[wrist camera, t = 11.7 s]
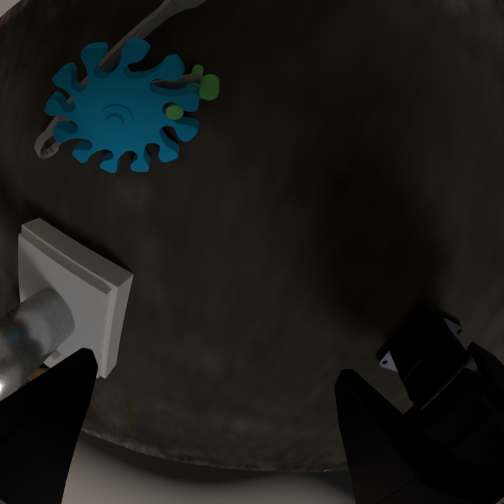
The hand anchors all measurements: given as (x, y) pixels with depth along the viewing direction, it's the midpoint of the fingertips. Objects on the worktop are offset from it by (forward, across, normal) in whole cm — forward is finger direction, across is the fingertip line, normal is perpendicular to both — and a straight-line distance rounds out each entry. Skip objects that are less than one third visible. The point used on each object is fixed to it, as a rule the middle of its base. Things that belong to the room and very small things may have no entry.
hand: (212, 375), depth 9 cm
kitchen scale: (+13, +16, +8) cm, 22 cm away
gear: (+13, +6, -9) cm, 17 cm away
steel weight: (+10, +16, +7) cm, 20 cm away
